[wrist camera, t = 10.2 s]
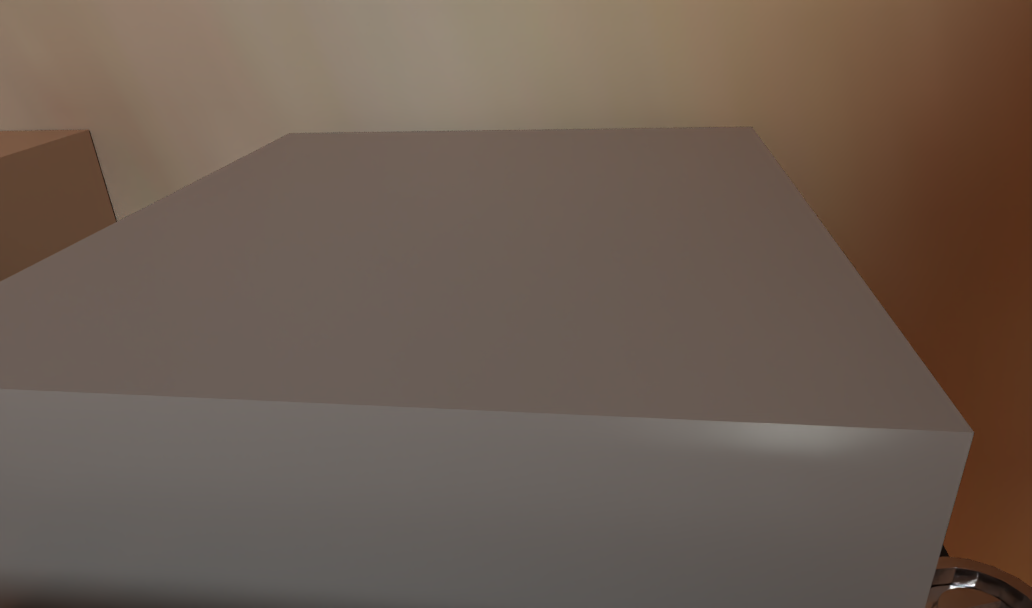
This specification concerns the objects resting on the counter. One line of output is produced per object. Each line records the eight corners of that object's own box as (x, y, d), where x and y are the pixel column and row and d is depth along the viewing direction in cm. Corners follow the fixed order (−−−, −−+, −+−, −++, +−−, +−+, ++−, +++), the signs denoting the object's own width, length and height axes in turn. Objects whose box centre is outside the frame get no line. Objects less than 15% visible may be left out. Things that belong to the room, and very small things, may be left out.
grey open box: (289, 133, 12) (-193, 380, 5) (751, 126, 11) (974, 433, 4) (353, 486, 15) (114, 939, 8) (714, 509, 14) (799, 1054, 7)
